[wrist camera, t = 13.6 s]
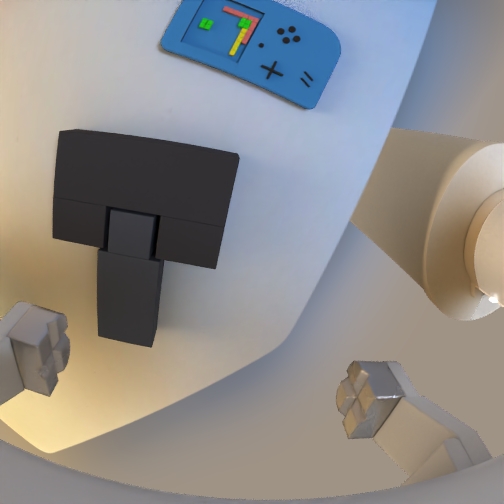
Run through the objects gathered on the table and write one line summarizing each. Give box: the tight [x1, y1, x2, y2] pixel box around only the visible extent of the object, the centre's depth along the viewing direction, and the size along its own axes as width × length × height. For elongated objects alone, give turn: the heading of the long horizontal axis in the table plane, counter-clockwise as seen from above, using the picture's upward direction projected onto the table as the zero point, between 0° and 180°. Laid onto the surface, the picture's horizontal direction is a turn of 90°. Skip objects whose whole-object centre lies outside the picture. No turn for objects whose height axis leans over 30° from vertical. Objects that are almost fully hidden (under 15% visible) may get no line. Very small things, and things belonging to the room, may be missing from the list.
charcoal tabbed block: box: [97, 207, 164, 348], centre depth 30 cm, size 6×14×4 cm, turn 167°
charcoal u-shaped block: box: [53, 129, 240, 269], centre depth 27 cm, size 16×10×4 cm, turn 77°
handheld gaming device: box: [161, 0, 341, 109], centre depth 24 cm, size 8×1×15 cm
